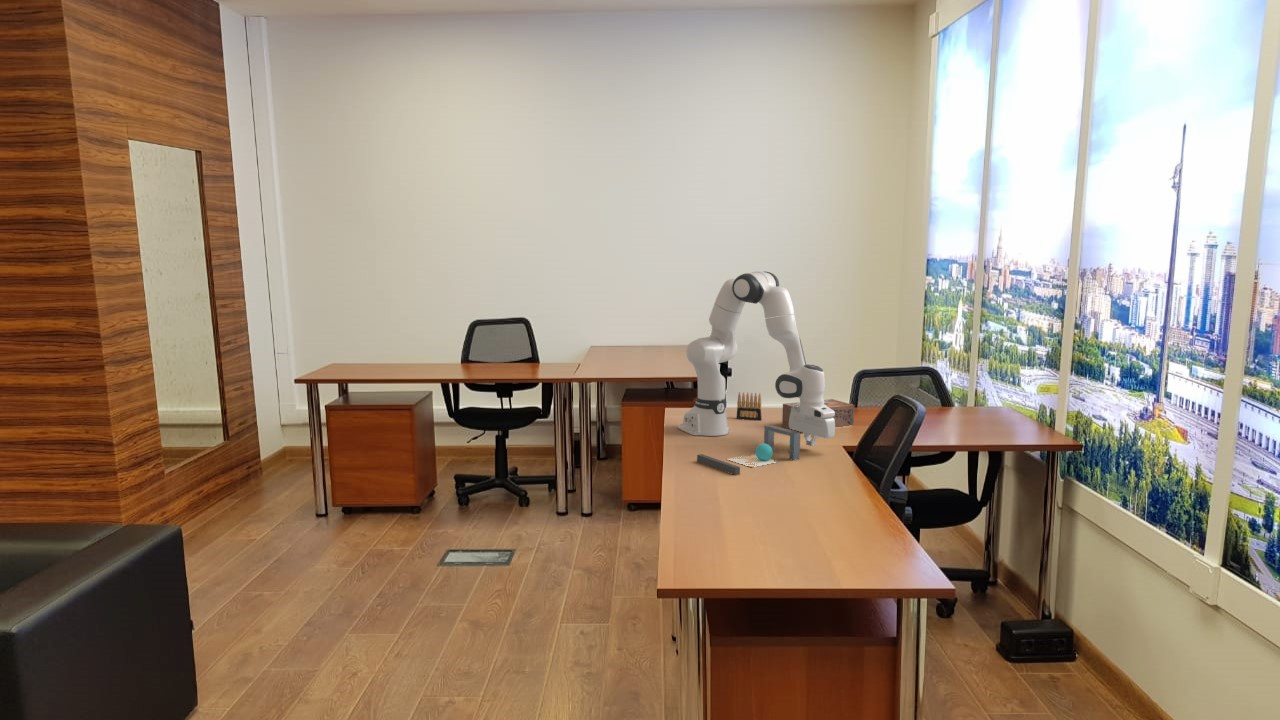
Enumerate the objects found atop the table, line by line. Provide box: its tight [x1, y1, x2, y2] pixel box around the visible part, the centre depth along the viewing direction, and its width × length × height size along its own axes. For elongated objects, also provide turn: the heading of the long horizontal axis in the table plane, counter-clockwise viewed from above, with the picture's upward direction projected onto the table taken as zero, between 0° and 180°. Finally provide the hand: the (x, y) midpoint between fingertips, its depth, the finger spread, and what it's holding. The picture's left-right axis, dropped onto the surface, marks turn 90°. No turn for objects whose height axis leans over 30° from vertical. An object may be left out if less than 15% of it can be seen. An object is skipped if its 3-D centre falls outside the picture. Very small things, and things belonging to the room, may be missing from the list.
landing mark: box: [726, 455, 777, 468], centre depth 287 cm, size 13×13×1 cm
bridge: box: [763, 424, 801, 461], centre depth 295 cm, size 3×15×10 cm, turn 35°
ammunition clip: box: [735, 391, 762, 422], centre depth 355 cm, size 11×2×12 cm, turn 75°
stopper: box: [696, 453, 741, 476], centre depth 278 cm, size 20×2×2 cm, turn 35°
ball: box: [754, 443, 774, 461], centre depth 288 cm, size 6×6×6 cm
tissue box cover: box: [781, 398, 856, 434], centre depth 341 cm, size 26×14×10 cm, turn 116°
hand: (810, 445), depth 304 cm, fingers closed
